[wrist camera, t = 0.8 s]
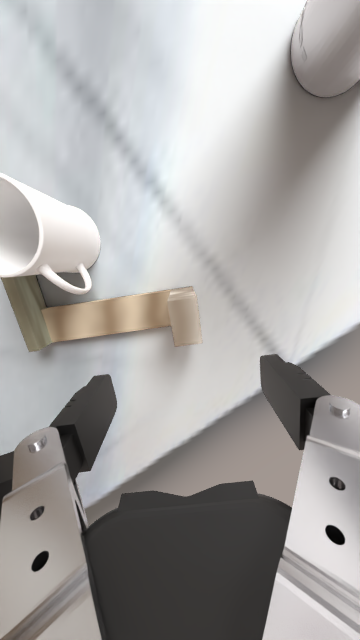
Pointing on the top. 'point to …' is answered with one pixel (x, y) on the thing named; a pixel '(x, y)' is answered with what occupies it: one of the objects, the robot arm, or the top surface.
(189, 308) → the bracket
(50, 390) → the top surface
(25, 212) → the mug
